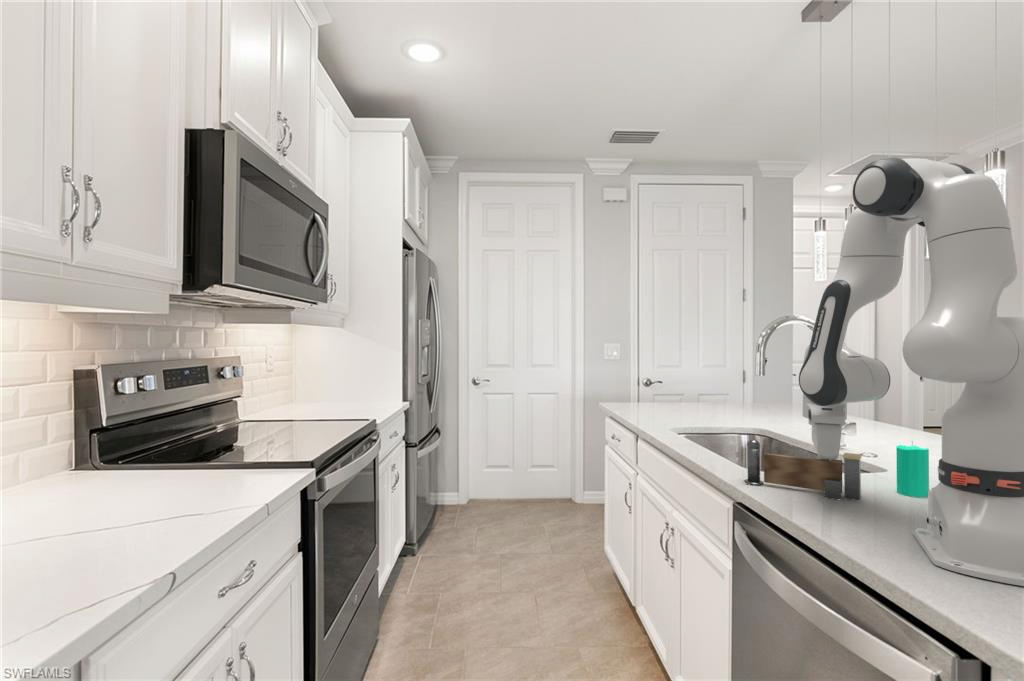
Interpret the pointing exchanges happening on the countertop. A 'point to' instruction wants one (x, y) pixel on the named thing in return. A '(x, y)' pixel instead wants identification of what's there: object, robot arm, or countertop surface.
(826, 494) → the latch post
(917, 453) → the candle
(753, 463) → the hinge post
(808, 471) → the gate
